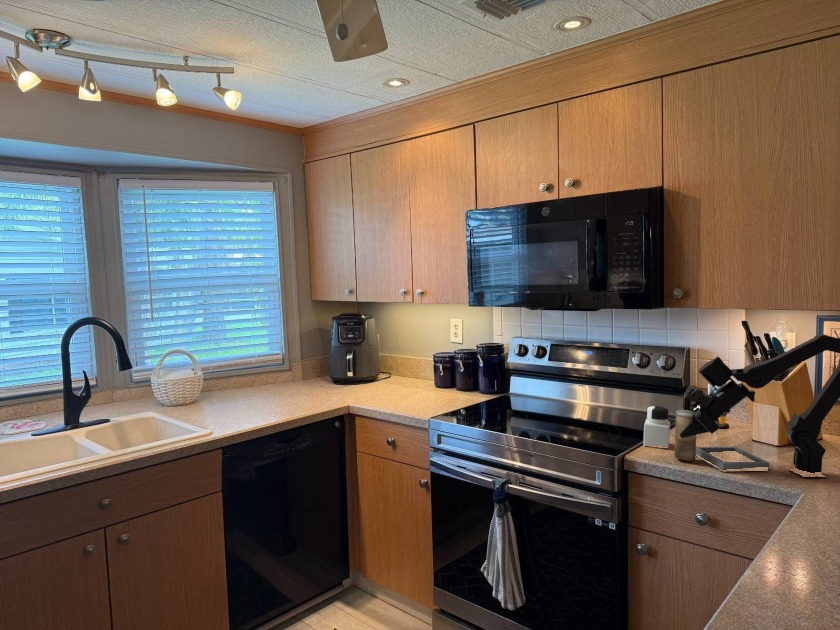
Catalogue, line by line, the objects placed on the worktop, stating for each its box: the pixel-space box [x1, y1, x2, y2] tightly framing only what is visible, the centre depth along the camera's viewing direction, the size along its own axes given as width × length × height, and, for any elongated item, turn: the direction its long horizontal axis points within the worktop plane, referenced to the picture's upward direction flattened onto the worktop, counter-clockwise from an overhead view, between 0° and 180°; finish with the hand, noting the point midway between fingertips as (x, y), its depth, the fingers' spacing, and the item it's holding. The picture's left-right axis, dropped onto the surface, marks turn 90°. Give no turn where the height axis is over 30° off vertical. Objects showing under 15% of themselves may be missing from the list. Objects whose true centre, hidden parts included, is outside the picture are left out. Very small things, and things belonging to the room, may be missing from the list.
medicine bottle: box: [642, 405, 671, 448], centre depth 184 cm, size 7×7×12 cm
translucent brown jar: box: [673, 409, 697, 461], centre depth 169 cm, size 6×6×13 cm
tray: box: [696, 446, 770, 470], centre depth 168 cm, size 15×13×2 cm
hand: (680, 433), depth 170 cm, fingers closed on translucent brown jar, 5 cm apart
